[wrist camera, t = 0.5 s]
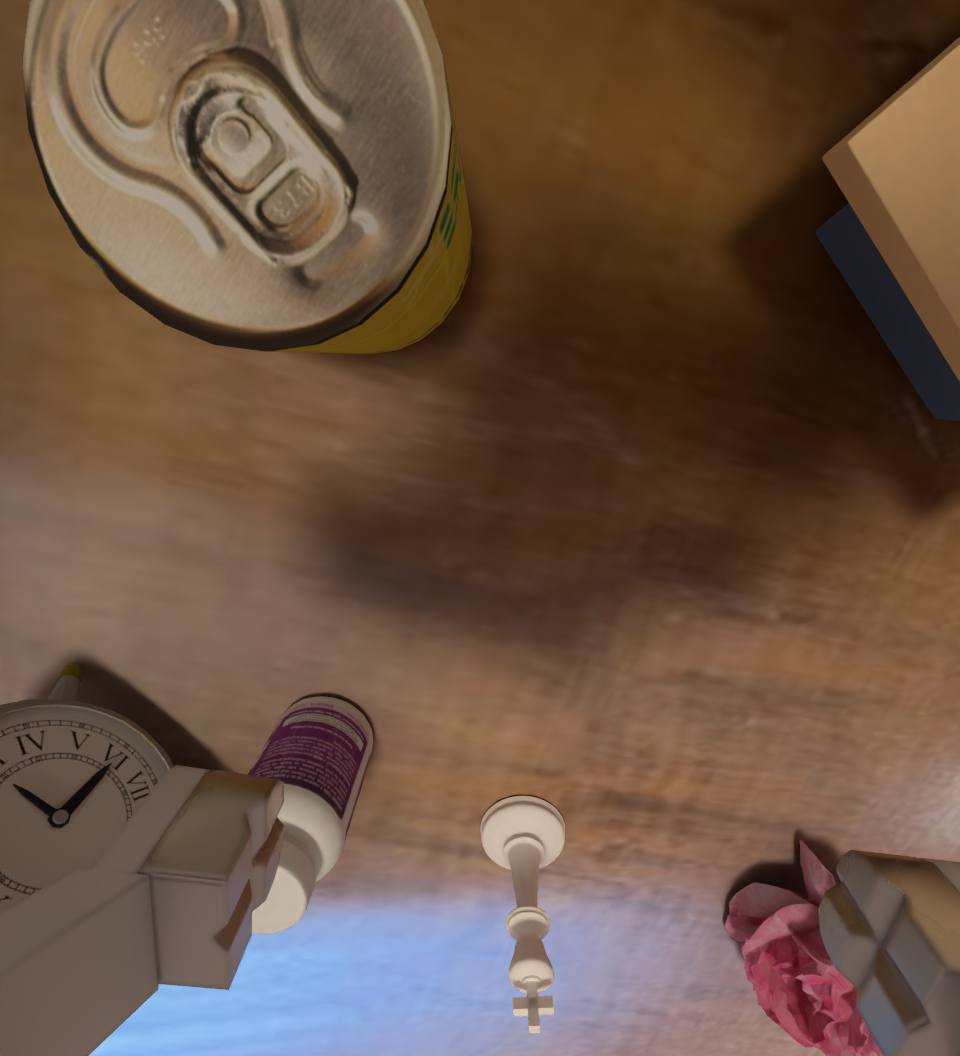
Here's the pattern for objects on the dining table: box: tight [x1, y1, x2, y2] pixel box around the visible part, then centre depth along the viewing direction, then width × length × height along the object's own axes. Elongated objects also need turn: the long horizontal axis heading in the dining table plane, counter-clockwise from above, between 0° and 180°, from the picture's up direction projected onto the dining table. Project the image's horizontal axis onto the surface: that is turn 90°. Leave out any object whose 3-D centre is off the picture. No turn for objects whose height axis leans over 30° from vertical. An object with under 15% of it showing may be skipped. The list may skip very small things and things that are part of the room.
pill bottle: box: [248, 696, 373, 934], centre depth 26 cm, size 5×5×10 cm
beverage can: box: [22, 0, 473, 354], centre depth 17 cm, size 9×9×12 cm
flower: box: [725, 840, 883, 1056], centre depth 30 cm, size 11×10×10 cm
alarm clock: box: [0, 664, 174, 913], centre depth 24 cm, size 12×7×15 cm, turn 42°
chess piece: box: [480, 796, 565, 1033], centre depth 27 cm, size 5×5×10 cm
